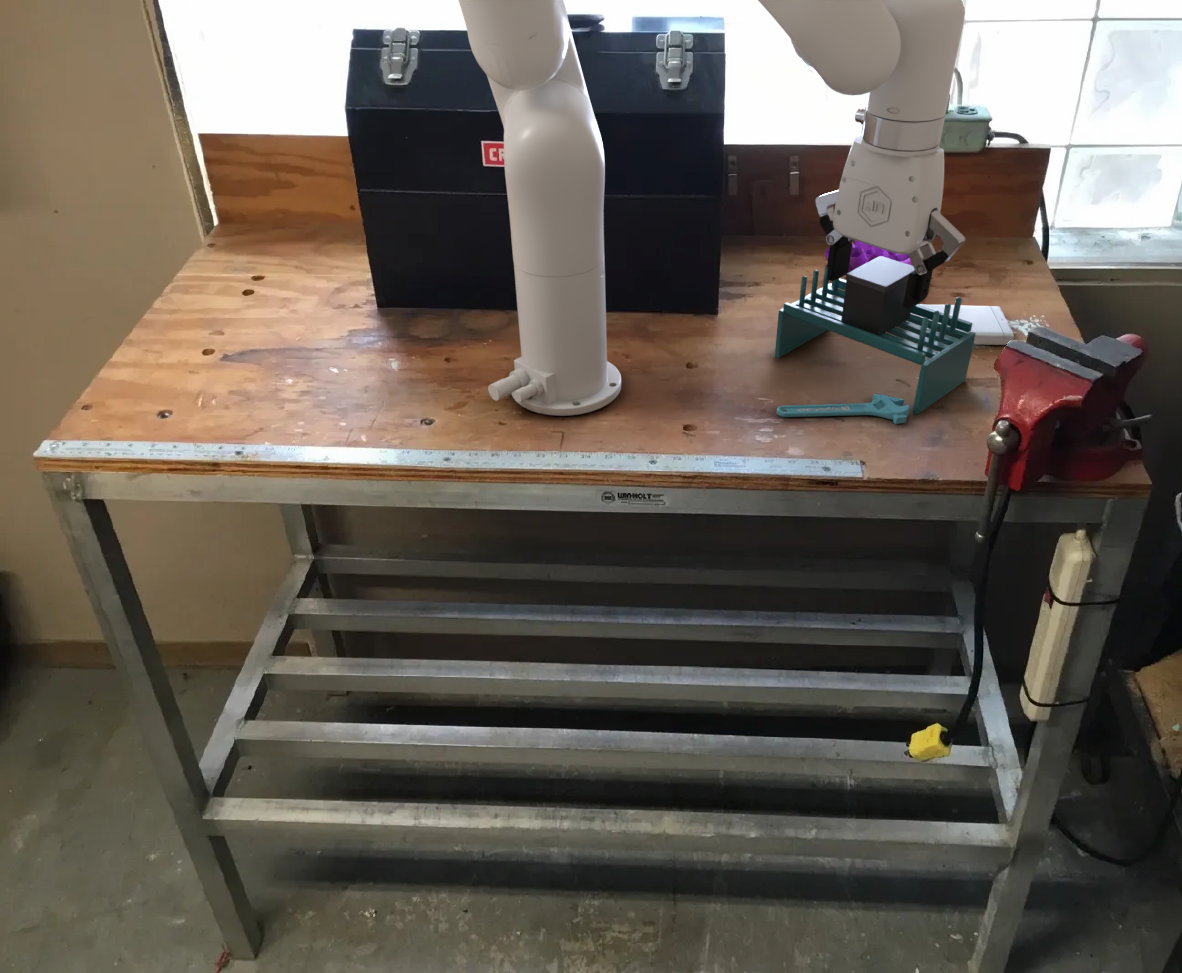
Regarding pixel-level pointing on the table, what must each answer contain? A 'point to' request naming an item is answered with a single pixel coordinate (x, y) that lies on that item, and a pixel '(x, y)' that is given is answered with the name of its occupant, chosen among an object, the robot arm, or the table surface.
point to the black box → (876, 296)
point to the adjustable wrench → (852, 409)
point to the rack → (885, 336)
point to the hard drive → (981, 323)
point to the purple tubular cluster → (870, 255)
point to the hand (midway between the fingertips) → (874, 290)
